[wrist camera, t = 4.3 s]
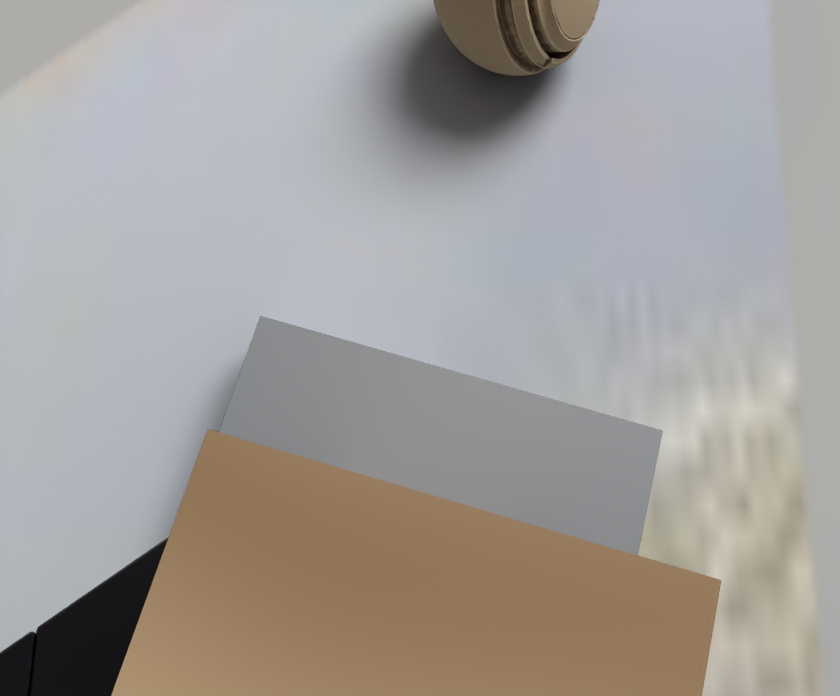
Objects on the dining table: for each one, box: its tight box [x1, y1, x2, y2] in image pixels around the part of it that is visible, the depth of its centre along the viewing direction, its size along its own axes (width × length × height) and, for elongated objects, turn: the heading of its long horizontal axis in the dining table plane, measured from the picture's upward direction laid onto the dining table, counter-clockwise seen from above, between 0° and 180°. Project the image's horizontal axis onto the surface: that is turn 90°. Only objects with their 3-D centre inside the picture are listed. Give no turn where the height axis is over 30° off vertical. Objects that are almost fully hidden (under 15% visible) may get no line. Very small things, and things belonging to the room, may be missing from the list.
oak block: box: [111, 429, 721, 696], centre depth 9 cm, size 4×4×10 cm
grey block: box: [219, 316, 663, 556], centre depth 15 cm, size 10×10×2 cm
